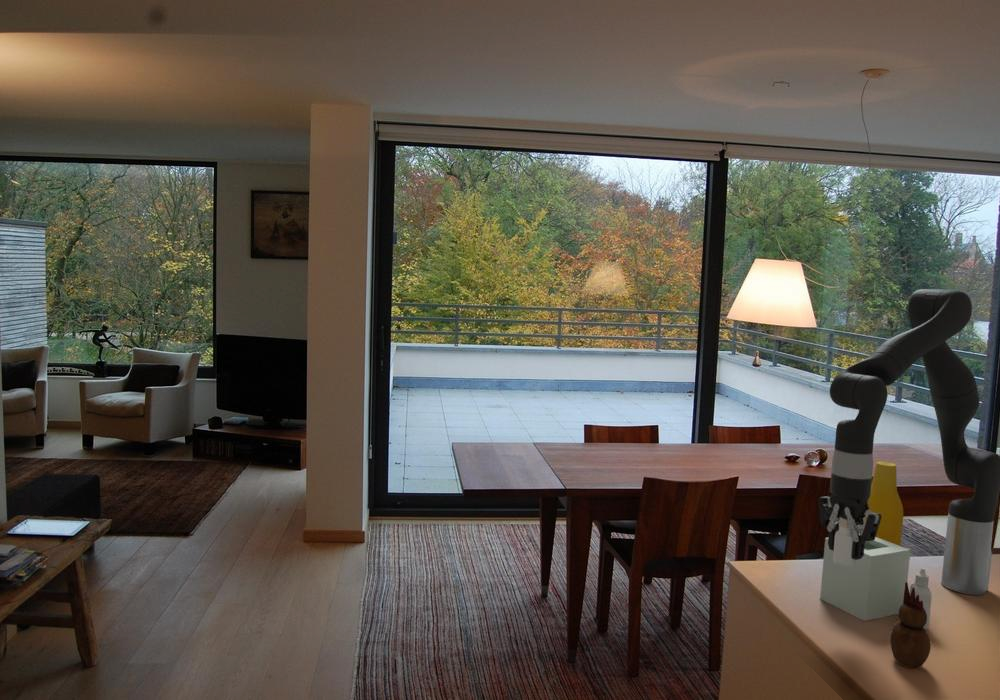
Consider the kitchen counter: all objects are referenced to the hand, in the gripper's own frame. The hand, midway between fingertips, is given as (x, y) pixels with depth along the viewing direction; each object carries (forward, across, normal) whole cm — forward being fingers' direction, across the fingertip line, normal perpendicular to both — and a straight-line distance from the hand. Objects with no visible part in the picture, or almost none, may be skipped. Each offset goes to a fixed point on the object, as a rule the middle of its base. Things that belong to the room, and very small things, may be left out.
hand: (845, 553), depth 162 cm
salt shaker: (+2, 0, 0) cm, 2 cm away
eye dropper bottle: (+16, -5, -17) cm, 24 cm away
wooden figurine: (+16, -16, +1) cm, 23 cm away
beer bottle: (+16, +14, -28) cm, 35 cm away
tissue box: (+16, +6, -14) cm, 22 cm away
